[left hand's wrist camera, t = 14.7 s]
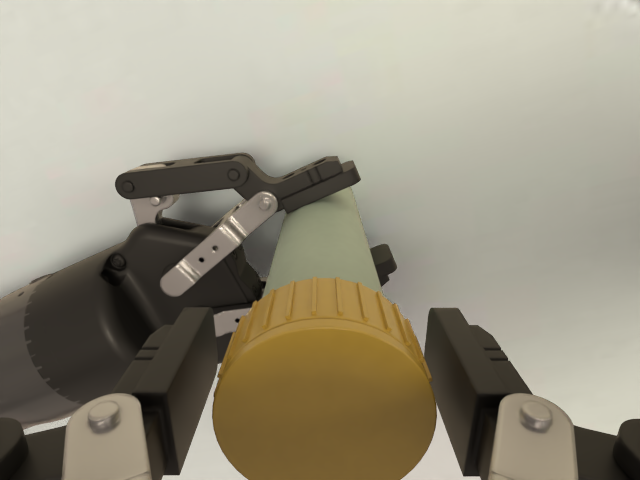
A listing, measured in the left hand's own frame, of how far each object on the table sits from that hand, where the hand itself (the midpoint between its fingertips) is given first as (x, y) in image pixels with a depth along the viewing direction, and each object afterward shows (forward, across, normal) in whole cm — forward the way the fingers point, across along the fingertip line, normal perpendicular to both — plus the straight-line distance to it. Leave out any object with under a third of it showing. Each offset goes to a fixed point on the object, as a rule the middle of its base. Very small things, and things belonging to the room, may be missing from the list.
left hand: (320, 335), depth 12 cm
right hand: (+9, -3, -1) cm, 9 cm away
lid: (-3, 0, 0) cm, 3 cm away
